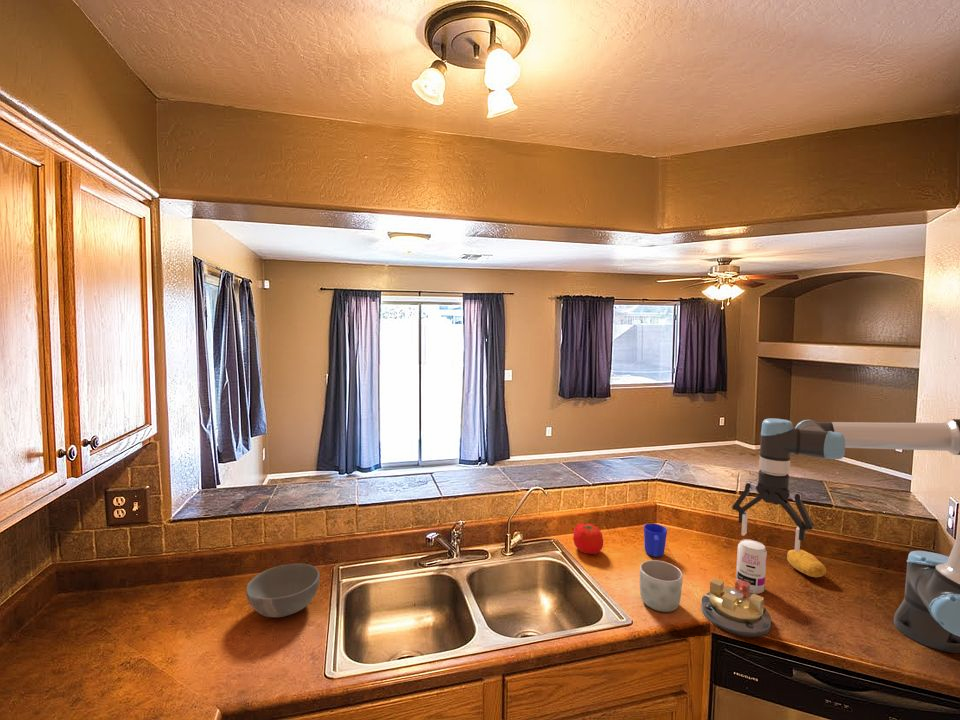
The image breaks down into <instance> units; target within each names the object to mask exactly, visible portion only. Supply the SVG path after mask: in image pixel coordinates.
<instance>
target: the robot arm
mask: <svg viewBox="0 0 960 720" xmlns="http://www.w3.org/2000/svg"><path fill="white" fill-rule="evenodd" d="M759 445H760V446H759V461H758V469H759V470H758V475H757V476H758V479H757V484H755V483H753V482H752V481H748V482H747V483H745V487H744V490H743V492H741V494H740V495H739V497H738V498H737V499H736V501H735V502H734V504H733V505H732V507H731V508H732V509H733V511H736V512H738V521H737V522H738V523H739V524H741V536H743V537H745V535H746V534H747V533H748V532H747V530H748V518H749V517H748V515H749V513H748V512H747V510H749V509H750V508H752V507H753V506H754V505H756V504H757V503H759V502H760V501H764V502H765V503H767V504H770V503H771V504H773V505H780V506H781V507H782V509H784V510H785V511H786V513H787V514H788V516H789V517H790V518H791V520H792V521H793V522H794V523H795V526H797V527H796V528H795V536H794V537H795V538H794V539H795V540H794V549H795V551H796V552H798V551H799V549H800V546H801V541H802V542H803V541H804V540H805V538H806V530H809V531H811V530H813V528H814V526H815V525H814V523H813V520H812V518H811V516H810V514H809V512H808V510H807V508H806V506H805V504H804V501H803V494H802V493H801V492H790V489H789V486H790V485H789V483H790V475H789V473H790V472H791V471H790V469H791V457H792V456H791V455H797V456H805V457H812V458H821V459H826V460H842V459H843V458H844V457H845V453H846V449H874V450H877V449H880V450H905V451H906V450H908V451H909V450H910V451H911V450H912V451H943V452H944V451H945V452H949V453H950V454H951V455H954V456H960V418H959V419H958V418H953V419H952V418H949V419H947V420H946V421H944V422H885V421H884V422H874V421H873V422H870V421H869V422H868V421H867V422H865V421H864V422H861V421H857V422H852V421H849V422H848V421H847V422H846V421H844V422H843V421H829V422H828V421H816V420H812V419H804V420H801V421H800V422H798V423H797V424H796V426H795V427H794V425H793V422H792V421H791V420H788V419H782V418H774V417H773V418H771V417H770V418H769V417H768V418H766V419H764V420H763V421H762V423H761V431H760V444H759ZM753 490H756V492H757V494H758V495H757V496H755V497H754V498H753V499H751V500H750V501H749V502H748V503H746V504H744V505H743V506H741V504H742V503H743V502H744V500H745V499H746V498H747V496H748V495H749V494H750V492H753ZM788 498H791V499H792V501H793V502H795V506H796V507H797V510H798V511H799V513H800V515H798V513H797V511H796V510H795V509H794V507H793V506H792V505H791V503H790V502H789V500H788ZM958 531H959V532H958V534H957V537H956V539H955V541H954V544H953V546H952V548H951V551H950V554H949V556H947V555H944V554H941V553H936V552H932V551H925V550H913V551H910V552H909V553H908V556H907V559H906V563H907V564H906V575H905V585H904V597H903V600H902V602H901V603H900V605H899V606H898V608H897V610H896V611H895V613H894V615H893V616H894V617H893V624H894V626H895V628H896V629H897V630H898V631H900V632H901V633H902V634H903V635H905V636H906V637H908V638H909V639H910V640H913V641H915V642H917V643H919V644H921V645H923V646H926V647H928V648H932V649H935V650H938V651H942V652H945V653H951V654H960V530H958Z"/></svg>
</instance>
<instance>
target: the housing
mask: <svg viewBox="0 0 960 720" xmlns="http://www.w3.org/2000/svg"><path fill="white" fill-rule="evenodd" d="M729 594H731V595H733V596H736V597H738V599H737V602H739V603H740V602H743V593H742V592H741V591H739V590H737V589H730V590H729ZM709 596H710V591H708V592H707V593H705V594H703V596H702V598H701V607H700V608H701V612H702V614H703V615H704V617H705V618H706V619H707V620H708V621H709V622H710V623H712V624H713V625H714V626H716V627H717V628H719V629H721V630H723V631H726V632H728V633H731V634H733V635H737V636H742V637H747V638H758V637H759V638H760V637H764V636H765V635H767V634H769V632H771V625H772V624H771V623H772V618H771V614H770V613H769V612H768V610H767V608H766V607H765V606H763V618H762V619H761V620H760V621H759V622H756V623H742V622H737V621H734V620H731V619H728V618H726V617H724V616H722V615H720V614H719V613H717V612H716V611H715V610H714V609H713V608H712V607H711V605H710V603H709Z"/></svg>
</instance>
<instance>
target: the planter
mask: <svg viewBox="0 0 960 720" xmlns="http://www.w3.org/2000/svg"><path fill="white" fill-rule="evenodd" d="M683 577H684V574H683V572H682V571H681V569H680V568H678V567H677V566H675V565H674V564H672V563H670V562H667V561H663V560H657V559H651V560H645V561H643V562H642V563H641V564H640V565H639V591H640V597H641V601H643V603H644V604H645V605H647V607H648V608H650V609H653V610H655V611H657V612H662V613H670V612H673V611H675V610H677V608H678V607H679V606H680V603H681V598H682V591H683V590H682V588H683V579H684V578H683Z"/></svg>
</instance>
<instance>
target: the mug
mask: <svg viewBox="0 0 960 720" xmlns="http://www.w3.org/2000/svg"><path fill="white" fill-rule="evenodd" d="M667 535H668V529H667V528H666V527H665V526H663V525H661V524H658V523H646V524H644V525H643V538H644V539H643V541H644V551H645V553H646V554H647V555H649V556H651V557H654V558H655V557H656V558H659V557H662V556H664V554H665V550H666V549H665V548H666V543H667Z"/></svg>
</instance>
